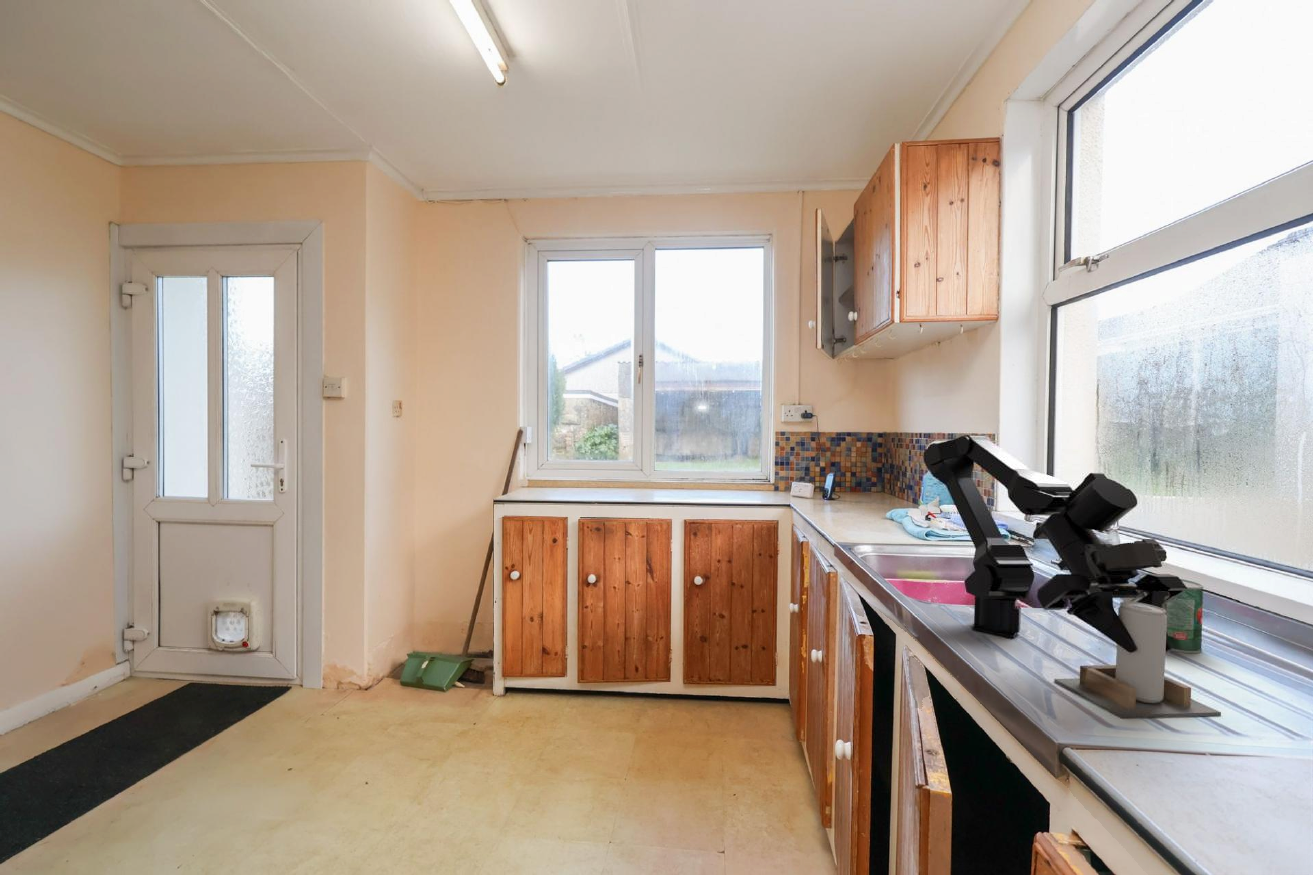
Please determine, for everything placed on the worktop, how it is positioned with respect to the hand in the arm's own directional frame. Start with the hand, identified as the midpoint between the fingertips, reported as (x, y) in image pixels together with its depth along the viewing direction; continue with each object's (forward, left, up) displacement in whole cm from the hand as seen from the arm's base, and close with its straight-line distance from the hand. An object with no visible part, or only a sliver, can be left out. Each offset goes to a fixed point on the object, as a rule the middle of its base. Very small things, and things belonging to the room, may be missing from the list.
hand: (1151, 651), depth 70 cm
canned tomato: (+4, +33, -7) cm, 34 cm away
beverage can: (-1, +1, -7) cm, 7 cm away
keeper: (-1, +1, -7) cm, 7 cm away
